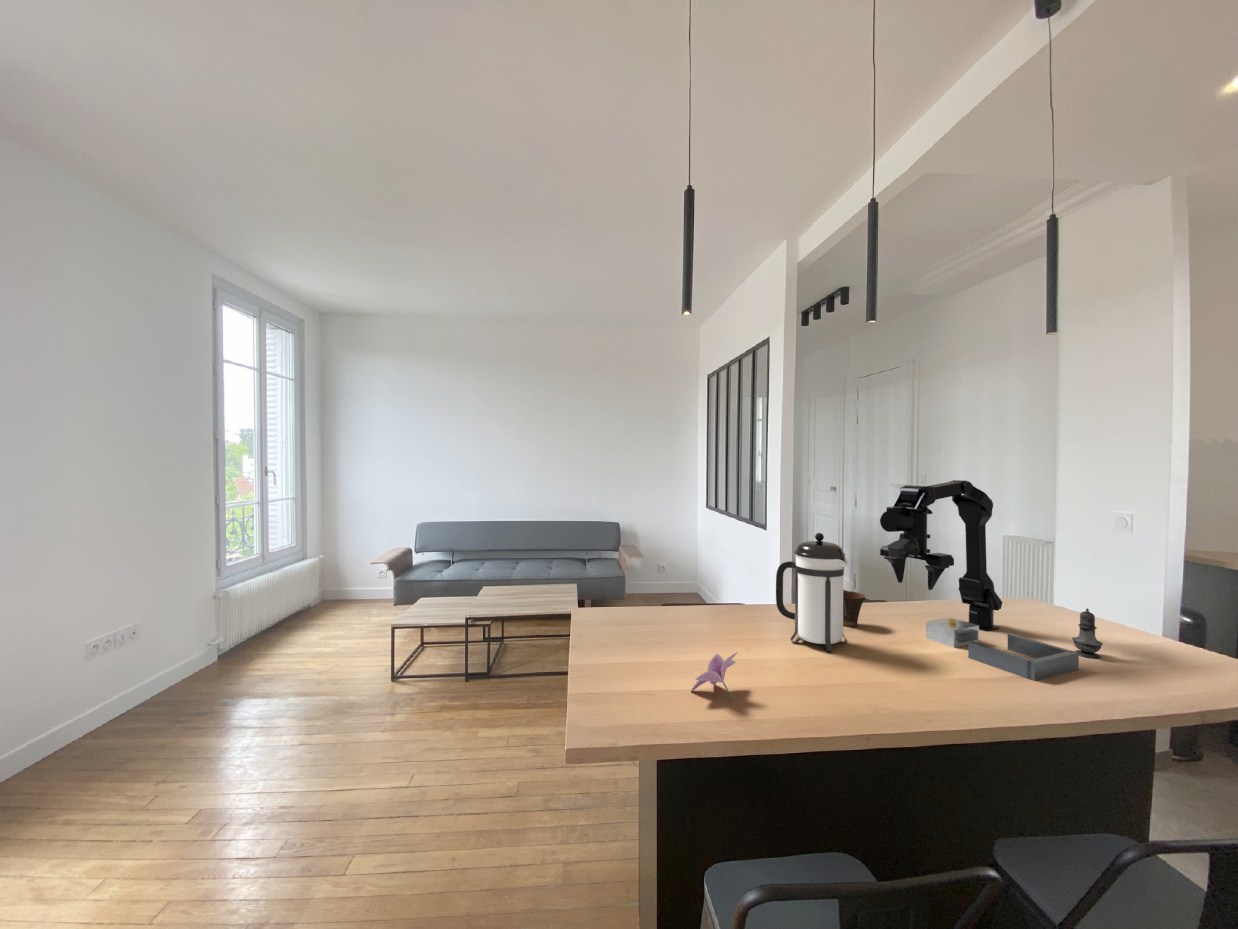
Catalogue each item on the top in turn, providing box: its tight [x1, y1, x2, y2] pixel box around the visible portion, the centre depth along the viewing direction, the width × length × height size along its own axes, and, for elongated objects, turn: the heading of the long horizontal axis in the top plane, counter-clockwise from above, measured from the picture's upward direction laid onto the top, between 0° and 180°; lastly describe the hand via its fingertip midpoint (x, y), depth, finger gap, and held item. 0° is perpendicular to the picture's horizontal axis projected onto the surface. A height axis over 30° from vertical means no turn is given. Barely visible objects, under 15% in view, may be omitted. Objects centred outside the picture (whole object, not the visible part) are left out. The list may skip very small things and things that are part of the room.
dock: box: [967, 633, 1080, 682], centre depth 125 cm, size 17×15×4 cm
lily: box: [690, 652, 738, 702], centre depth 107 cm, size 12×12×10 cm
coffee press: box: [775, 532, 850, 653], centre depth 139 cm, size 17×16×30 cm
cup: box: [843, 590, 866, 628], centre depth 154 cm, size 9×9×10 cm
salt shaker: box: [1071, 608, 1104, 660], centre depth 131 cm, size 6×6×12 cm
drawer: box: [925, 616, 980, 649], centre depth 141 cm, size 10×9×6 cm
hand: (914, 586), depth 143 cm, fingers open, 9 cm apart
